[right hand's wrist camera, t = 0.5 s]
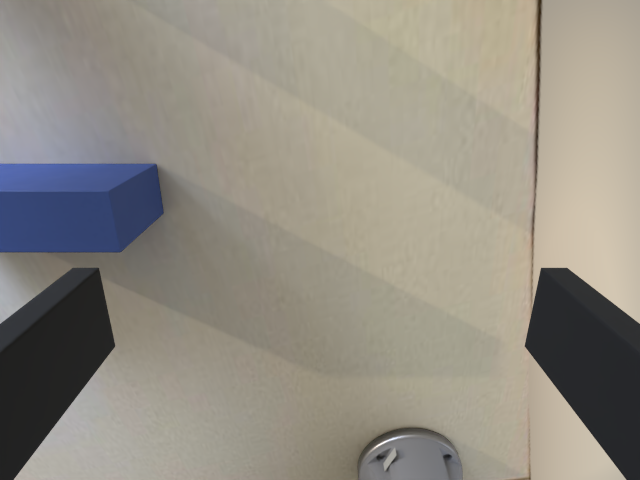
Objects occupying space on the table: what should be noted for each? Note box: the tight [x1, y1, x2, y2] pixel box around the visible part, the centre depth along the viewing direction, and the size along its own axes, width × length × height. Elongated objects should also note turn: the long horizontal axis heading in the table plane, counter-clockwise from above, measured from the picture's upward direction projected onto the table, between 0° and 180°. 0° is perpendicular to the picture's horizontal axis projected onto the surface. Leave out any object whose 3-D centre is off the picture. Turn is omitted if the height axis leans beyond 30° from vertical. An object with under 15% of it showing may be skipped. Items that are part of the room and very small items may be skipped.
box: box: [0, 164, 163, 252], centre depth 42 cm, size 24×6×11 cm, turn 90°
